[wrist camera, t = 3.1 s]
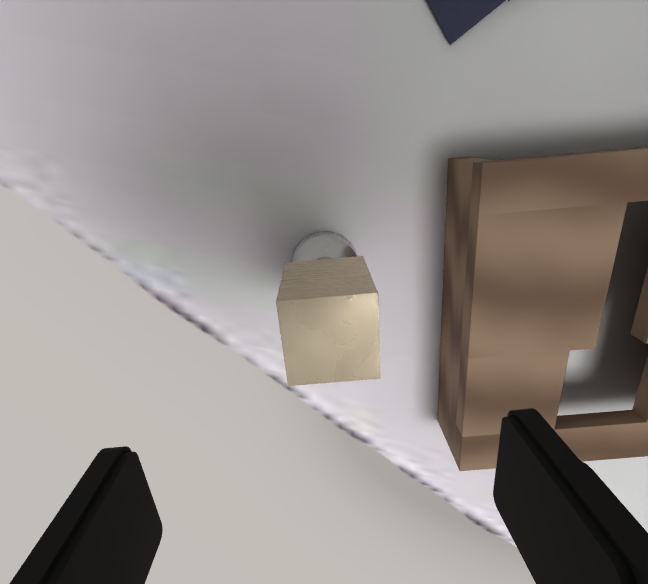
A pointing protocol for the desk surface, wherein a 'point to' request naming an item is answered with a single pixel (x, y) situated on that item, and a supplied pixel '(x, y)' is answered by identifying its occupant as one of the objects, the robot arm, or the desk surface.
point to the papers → (461, 14)
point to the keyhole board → (533, 296)
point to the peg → (328, 313)
